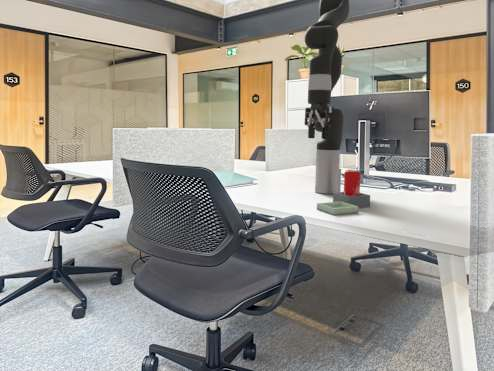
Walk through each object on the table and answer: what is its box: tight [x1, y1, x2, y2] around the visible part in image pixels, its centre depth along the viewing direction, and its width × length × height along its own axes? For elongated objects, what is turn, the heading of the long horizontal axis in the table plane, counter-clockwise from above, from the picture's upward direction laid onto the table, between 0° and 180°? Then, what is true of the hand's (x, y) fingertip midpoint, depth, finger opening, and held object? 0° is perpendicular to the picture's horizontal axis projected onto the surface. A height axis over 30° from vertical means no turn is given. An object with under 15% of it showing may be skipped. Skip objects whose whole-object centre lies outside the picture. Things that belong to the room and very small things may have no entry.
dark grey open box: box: [332, 191, 371, 209], centre depth 139 cm, size 9×9×4 cm
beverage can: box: [343, 169, 361, 196], centre depth 138 cm, size 5×5×12 cm
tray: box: [316, 201, 360, 216], centre depth 130 cm, size 9×9×2 cm
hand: (317, 138), depth 138 cm, fingers open, 8 cm apart
